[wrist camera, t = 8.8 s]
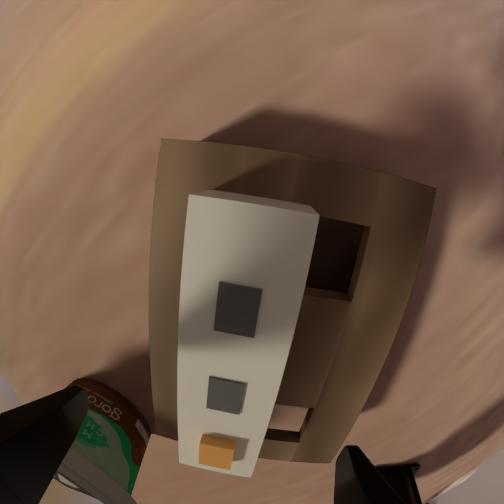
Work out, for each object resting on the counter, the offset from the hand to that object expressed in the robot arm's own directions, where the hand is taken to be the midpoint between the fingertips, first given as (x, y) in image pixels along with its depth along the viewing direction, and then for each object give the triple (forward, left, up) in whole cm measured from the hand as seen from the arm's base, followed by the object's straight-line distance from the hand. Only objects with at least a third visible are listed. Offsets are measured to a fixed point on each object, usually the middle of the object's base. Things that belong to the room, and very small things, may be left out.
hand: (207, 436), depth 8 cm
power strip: (0, 0, -9) cm, 9 cm away
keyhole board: (-2, 0, -10) cm, 10 cm away
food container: (+11, +12, -10) cm, 19 cm away
